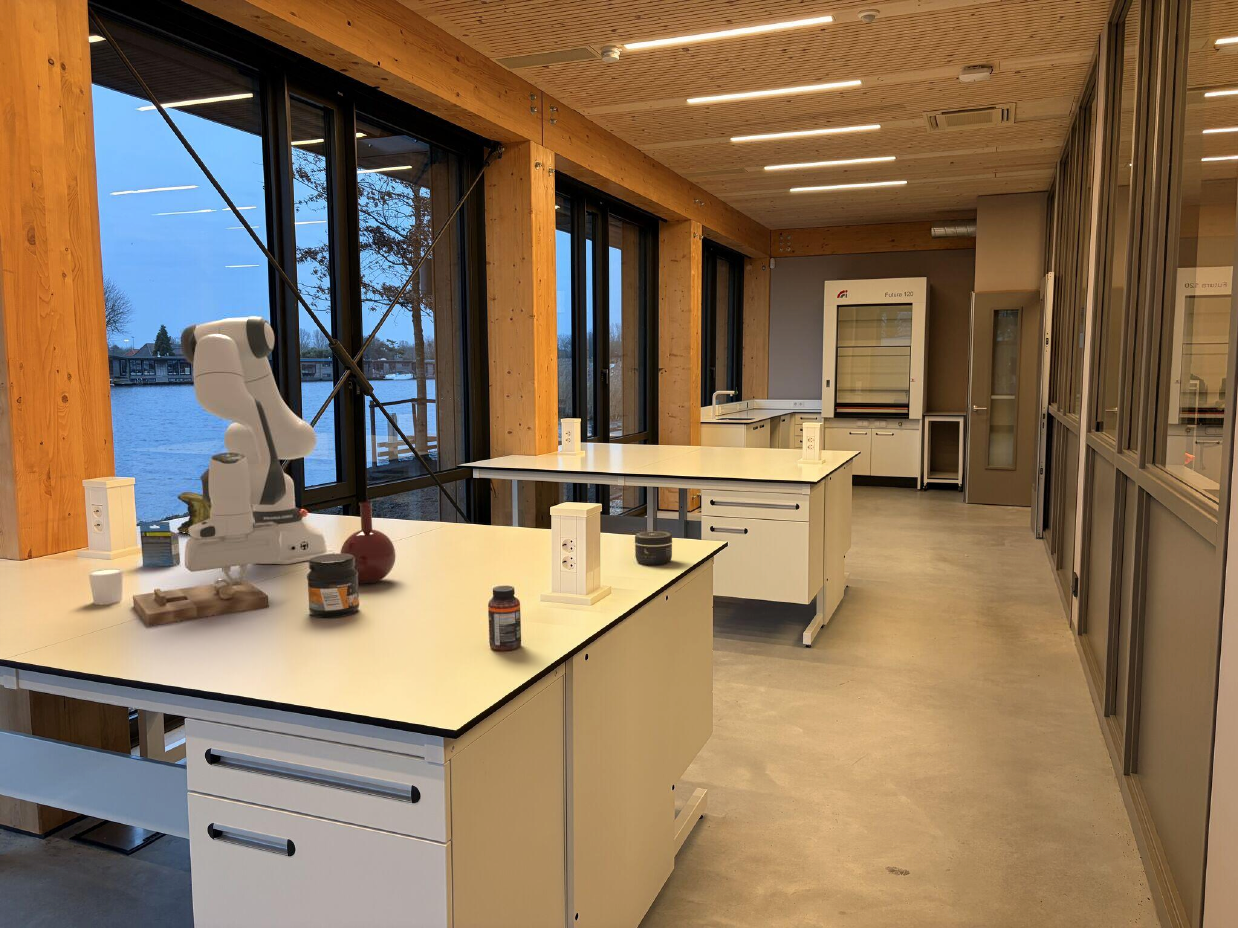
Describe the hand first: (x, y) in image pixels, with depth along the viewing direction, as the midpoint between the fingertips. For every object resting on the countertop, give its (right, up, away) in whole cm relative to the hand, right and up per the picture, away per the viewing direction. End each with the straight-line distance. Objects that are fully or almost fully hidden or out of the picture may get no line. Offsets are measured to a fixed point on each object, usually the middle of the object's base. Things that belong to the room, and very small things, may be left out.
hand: (235, 585), depth 204 cm
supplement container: (+26, -5, -10) cm, 28 cm away
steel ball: (-3, 0, -2) cm, 3 cm away
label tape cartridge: (-38, 0, +41) cm, 56 cm away
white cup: (-30, -4, +2) cm, 31 cm away
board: (-6, -4, -4) cm, 8 cm away
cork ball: (+1, 0, -8) cm, 8 cm away
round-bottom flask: (+26, -2, +17) cm, 31 cm away
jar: (+97, +1, +35) cm, 103 cm away
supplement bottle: (+66, -7, -36) cm, 76 cm away
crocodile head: (-44, +5, +92) cm, 102 cm away
